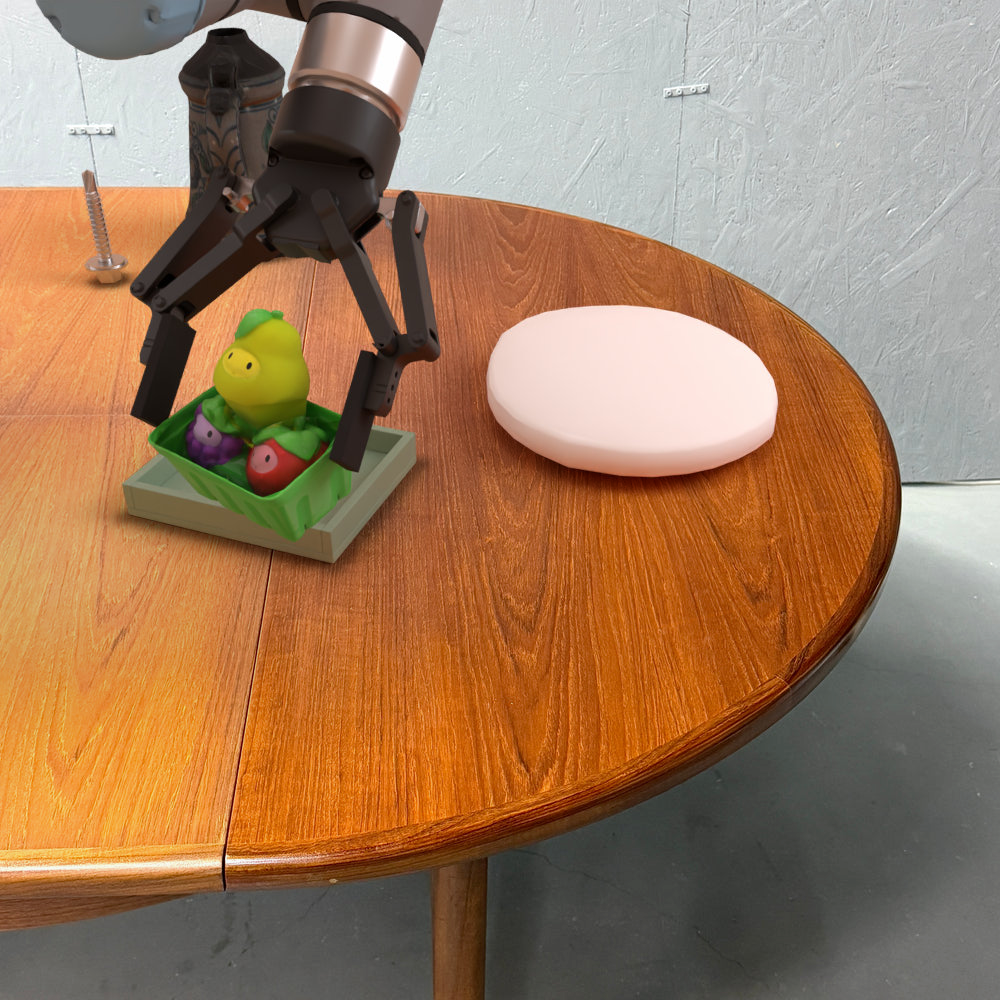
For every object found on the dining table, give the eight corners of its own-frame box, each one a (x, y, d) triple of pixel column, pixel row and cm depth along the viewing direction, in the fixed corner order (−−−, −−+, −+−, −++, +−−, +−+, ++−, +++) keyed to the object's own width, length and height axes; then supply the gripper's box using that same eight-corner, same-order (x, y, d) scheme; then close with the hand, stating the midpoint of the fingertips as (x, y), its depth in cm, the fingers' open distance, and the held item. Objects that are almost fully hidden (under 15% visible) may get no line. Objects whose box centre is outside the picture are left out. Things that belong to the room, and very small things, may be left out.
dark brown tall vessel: (292, 208, 148) (271, 11, 134) (349, 254, 134) (332, 40, 120) (172, 229, 141) (137, 24, 127) (220, 280, 127) (186, 56, 113)
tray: (128, 514, 87) (121, 483, 85) (232, 424, 99) (227, 395, 97) (333, 564, 82) (330, 532, 80) (416, 462, 94) (415, 432, 92)
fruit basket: (168, 499, 68) (99, 354, 60) (267, 418, 72) (215, 274, 65) (294, 566, 62) (236, 416, 54) (393, 474, 67) (353, 324, 59)
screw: (79, 282, 126) (109, 268, 130) (110, 290, 124) (140, 276, 128) (54, 172, 119) (86, 160, 122) (87, 178, 117) (118, 166, 121)
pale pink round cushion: (840, 417, 91) (545, 470, 84) (823, 477, 95) (540, 532, 88) (695, 264, 111) (447, 297, 104) (686, 319, 115) (447, 354, 109)
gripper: (546, 168, 66) (455, 500, 63) (203, 126, 73) (106, 422, 70) (519, 99, 59) (414, 470, 56) (142, 60, 66) (30, 386, 63)
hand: (242, 444), depth 63 cm, fingers closed on fruit basket, 12 cm apart
